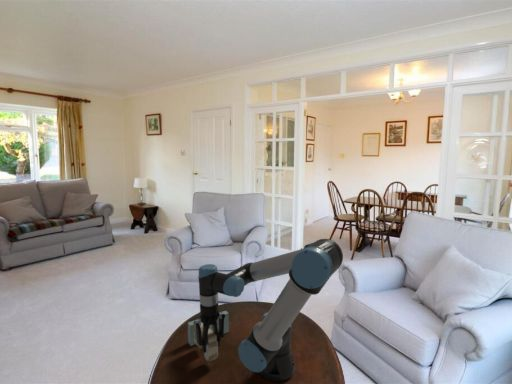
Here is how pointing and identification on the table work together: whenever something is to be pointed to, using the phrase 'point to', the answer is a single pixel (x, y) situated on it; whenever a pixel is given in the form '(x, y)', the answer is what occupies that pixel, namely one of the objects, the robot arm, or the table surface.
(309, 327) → the table surface
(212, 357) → the beige bar
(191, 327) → the base plate
